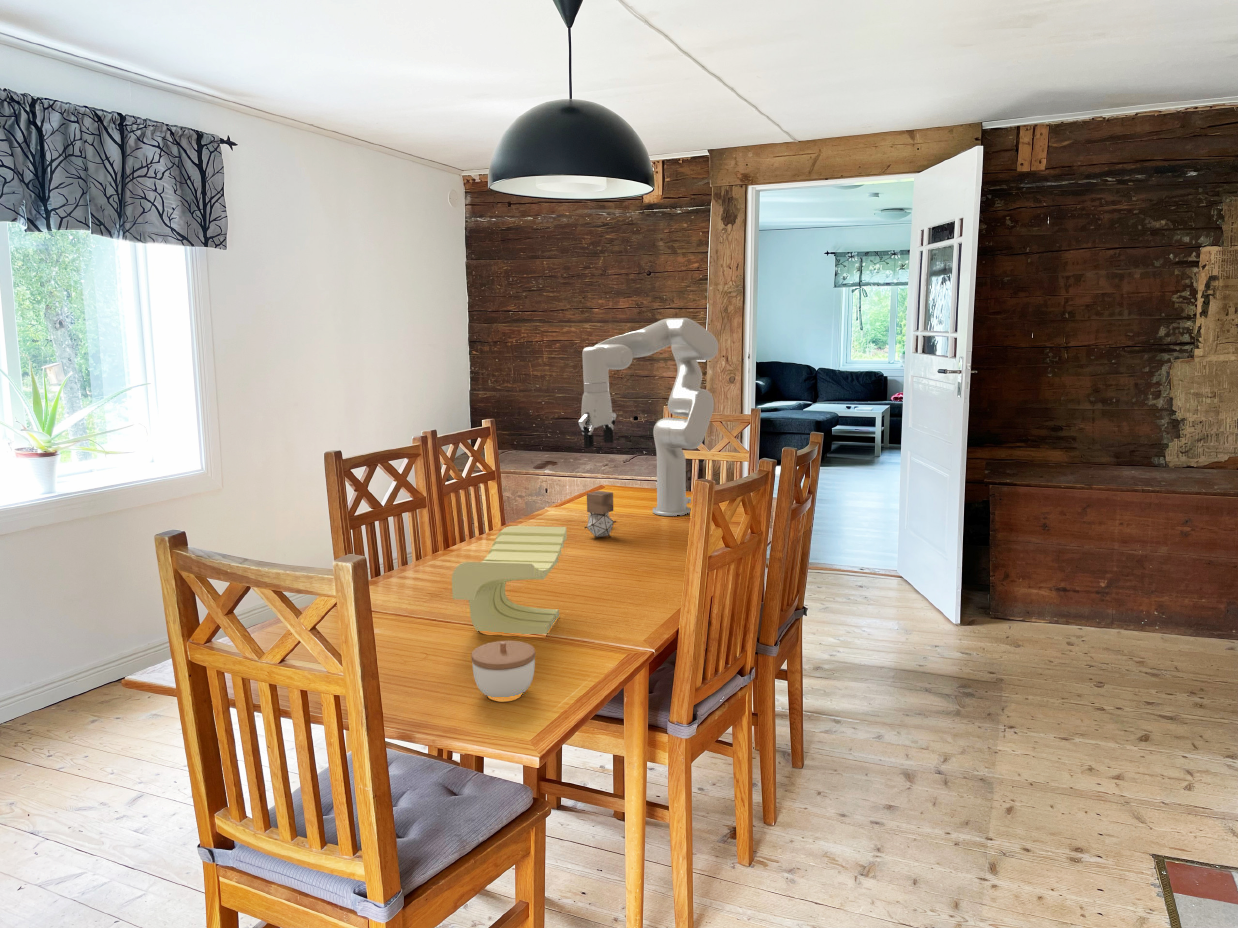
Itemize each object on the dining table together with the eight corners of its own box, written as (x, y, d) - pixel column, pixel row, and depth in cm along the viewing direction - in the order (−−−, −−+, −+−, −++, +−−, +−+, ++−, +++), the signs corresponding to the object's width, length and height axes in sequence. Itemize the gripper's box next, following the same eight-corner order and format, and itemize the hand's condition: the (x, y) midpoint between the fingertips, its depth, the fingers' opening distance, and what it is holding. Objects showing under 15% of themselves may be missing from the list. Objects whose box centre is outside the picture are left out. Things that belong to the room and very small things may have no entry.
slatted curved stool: (500, 601, 197) (497, 525, 194) (568, 603, 195) (566, 526, 192) (455, 649, 168) (450, 561, 165) (534, 653, 166) (531, 563, 163)
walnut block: (598, 508, 258) (598, 490, 257) (613, 510, 254) (613, 492, 254) (587, 511, 253) (586, 493, 253) (601, 514, 250) (601, 495, 249)
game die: (606, 550, 255) (615, 528, 248) (578, 541, 254) (587, 518, 248) (612, 530, 261) (621, 508, 255) (585, 520, 261) (594, 498, 255)
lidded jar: (461, 703, 144) (458, 649, 143) (492, 678, 154) (490, 628, 153) (518, 712, 140) (516, 657, 139) (547, 686, 150) (545, 635, 149)
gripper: (603, 385, 266) (606, 440, 269) (568, 391, 253) (571, 448, 256) (623, 385, 262) (625, 441, 265) (588, 391, 248) (591, 450, 251)
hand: (599, 444), depth 260 cm, fingers open, 9 cm apart
